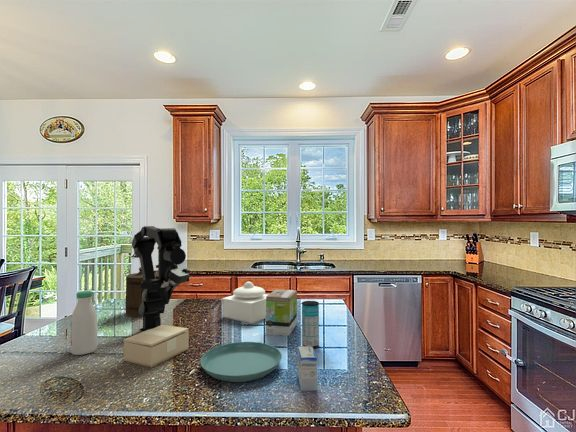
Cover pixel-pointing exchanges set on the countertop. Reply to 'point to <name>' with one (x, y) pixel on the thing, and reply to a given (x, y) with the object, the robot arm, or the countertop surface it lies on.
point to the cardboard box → (156, 350)
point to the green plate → (241, 361)
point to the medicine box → (307, 369)
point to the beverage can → (310, 324)
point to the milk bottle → (84, 325)
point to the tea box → (281, 312)
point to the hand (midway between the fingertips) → (166, 304)
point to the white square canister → (246, 304)
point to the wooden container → (134, 293)
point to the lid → (156, 335)
